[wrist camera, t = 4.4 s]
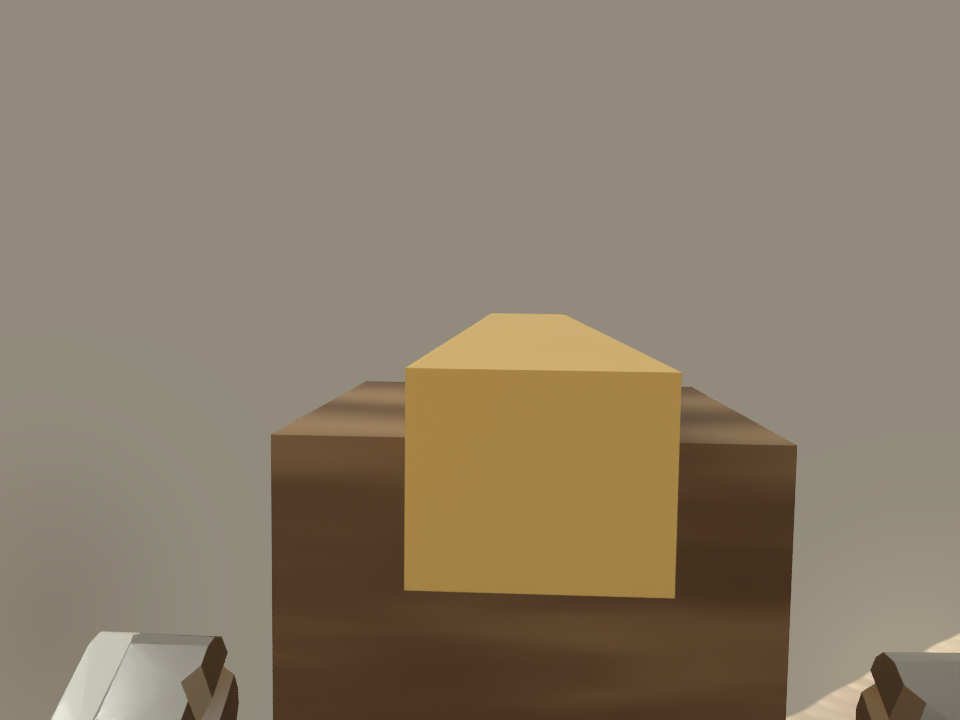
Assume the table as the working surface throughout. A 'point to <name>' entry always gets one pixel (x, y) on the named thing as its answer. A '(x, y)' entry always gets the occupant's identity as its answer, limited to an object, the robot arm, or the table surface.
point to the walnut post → (524, 617)
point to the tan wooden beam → (541, 463)
